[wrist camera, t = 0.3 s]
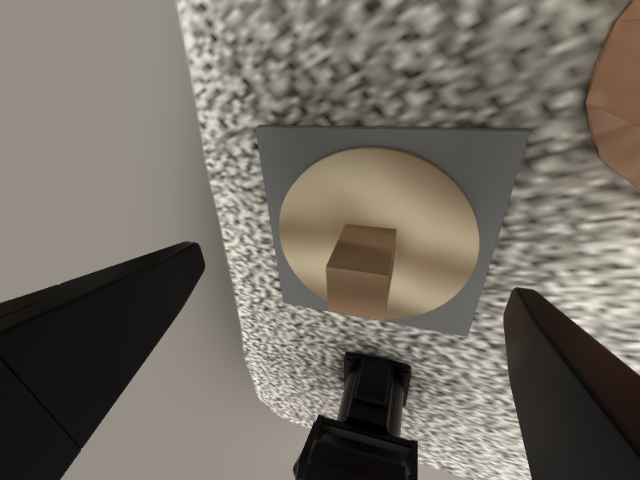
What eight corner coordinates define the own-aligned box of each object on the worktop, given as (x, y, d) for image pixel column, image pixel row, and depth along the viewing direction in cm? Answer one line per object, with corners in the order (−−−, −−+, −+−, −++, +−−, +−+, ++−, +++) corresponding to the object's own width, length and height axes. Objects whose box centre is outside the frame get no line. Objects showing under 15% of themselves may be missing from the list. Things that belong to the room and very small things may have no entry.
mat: (466, 330, 25) (467, 336, 25) (285, 298, 30) (283, 302, 29) (527, 128, 17) (529, 131, 16) (259, 125, 21) (255, 127, 21)
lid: (456, 325, 25) (462, 393, 20) (292, 296, 28) (265, 347, 24) (503, 149, 17) (529, 192, 12) (271, 142, 21) (225, 173, 16)
